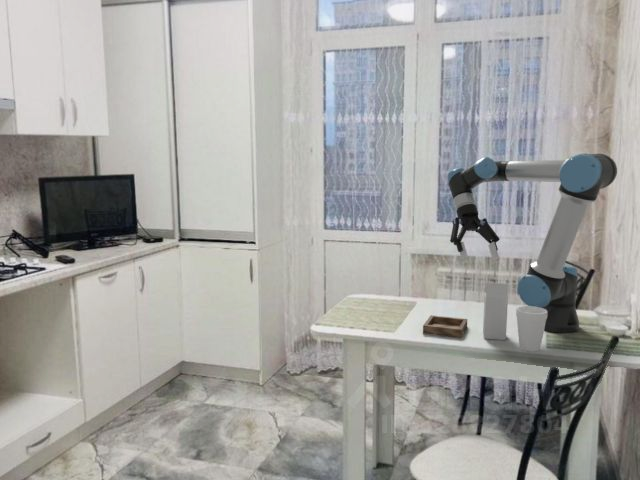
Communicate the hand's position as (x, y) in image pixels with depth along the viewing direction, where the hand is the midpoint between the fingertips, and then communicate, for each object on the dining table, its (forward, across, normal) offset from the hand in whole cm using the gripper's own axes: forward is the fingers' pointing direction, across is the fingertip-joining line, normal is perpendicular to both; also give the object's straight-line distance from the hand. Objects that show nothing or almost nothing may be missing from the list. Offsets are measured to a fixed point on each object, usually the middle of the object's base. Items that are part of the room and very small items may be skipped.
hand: (480, 259), depth 210 cm
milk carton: (+27, 0, -4) cm, 28 cm away
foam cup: (+35, -3, +8) cm, 36 cm away
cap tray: (+21, +12, -15) cm, 28 cm away
